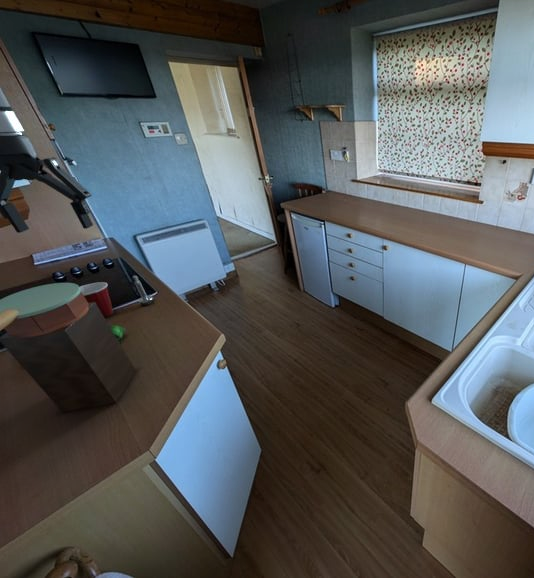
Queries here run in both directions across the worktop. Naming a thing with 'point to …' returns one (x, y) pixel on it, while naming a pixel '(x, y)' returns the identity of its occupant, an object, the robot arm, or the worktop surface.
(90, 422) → the worktop surface
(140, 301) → the screw
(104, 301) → the plastic cup
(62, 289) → the green flat oval disc
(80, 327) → the plinth
